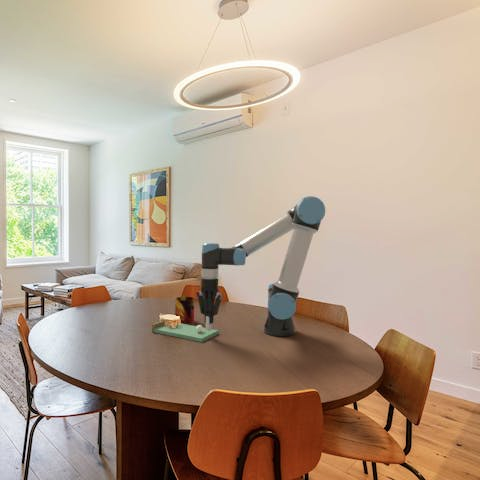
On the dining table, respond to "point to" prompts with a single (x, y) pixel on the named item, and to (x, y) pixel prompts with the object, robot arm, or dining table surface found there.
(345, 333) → the dining table surface
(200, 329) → the ball
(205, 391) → the dining table surface
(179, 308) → the mug
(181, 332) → the board with hole
